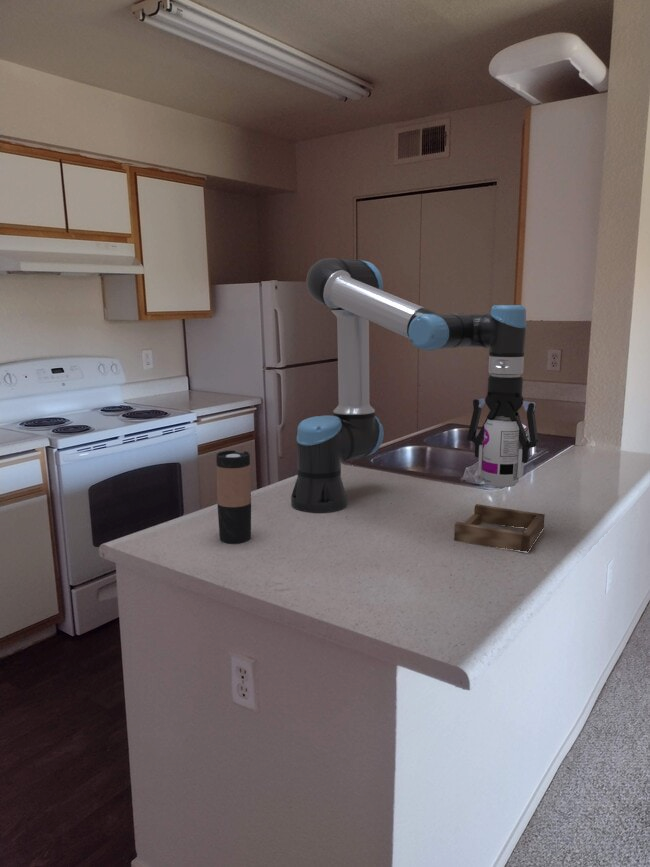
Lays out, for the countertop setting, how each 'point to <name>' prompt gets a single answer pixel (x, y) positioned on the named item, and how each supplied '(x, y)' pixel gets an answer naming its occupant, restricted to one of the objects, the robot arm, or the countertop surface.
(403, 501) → the countertop surface
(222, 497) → the travel mug
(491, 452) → the supplement can
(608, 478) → the countertop surface
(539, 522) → the dock bay
